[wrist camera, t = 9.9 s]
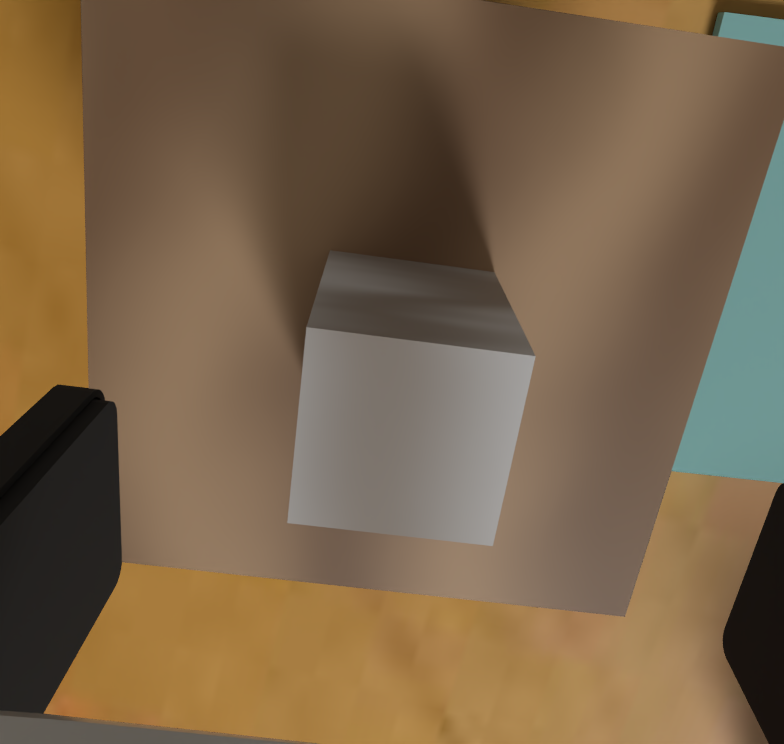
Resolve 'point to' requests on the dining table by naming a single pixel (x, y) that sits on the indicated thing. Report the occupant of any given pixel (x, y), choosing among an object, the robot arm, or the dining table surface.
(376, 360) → the walnut cover
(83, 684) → the dining table surface
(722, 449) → the teal mat
